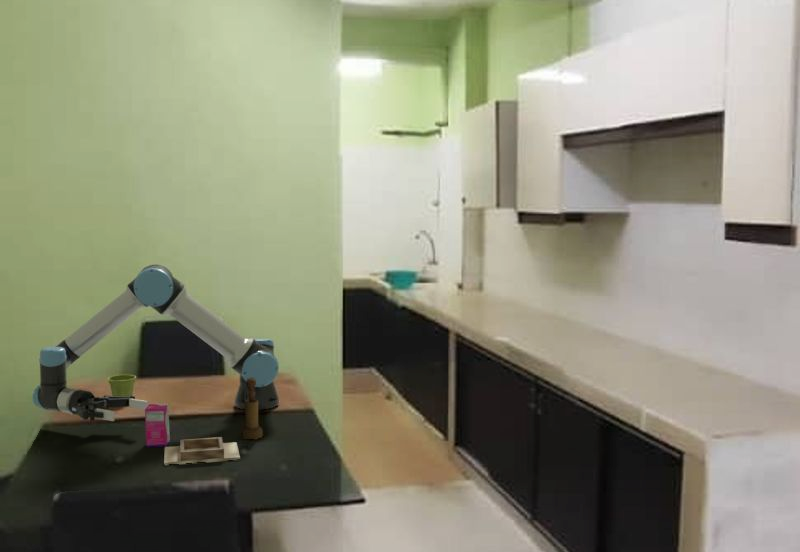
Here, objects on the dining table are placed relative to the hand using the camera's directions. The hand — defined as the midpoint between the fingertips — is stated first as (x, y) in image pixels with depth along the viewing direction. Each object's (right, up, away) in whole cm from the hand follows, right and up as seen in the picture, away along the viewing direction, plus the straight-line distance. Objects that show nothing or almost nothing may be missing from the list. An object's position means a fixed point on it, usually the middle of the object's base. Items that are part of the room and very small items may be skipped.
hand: (130, 410), depth 243 cm
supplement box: (+9, -9, -3) cm, 13 cm away
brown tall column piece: (+35, -9, +5) cm, 36 cm away
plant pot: (-17, -4, +44) cm, 48 cm away
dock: (+24, -10, -13) cm, 29 cm away
